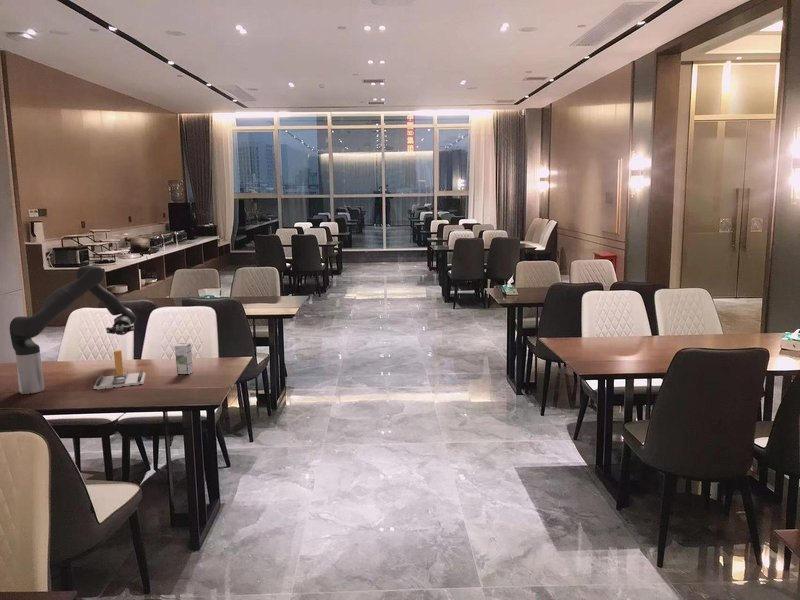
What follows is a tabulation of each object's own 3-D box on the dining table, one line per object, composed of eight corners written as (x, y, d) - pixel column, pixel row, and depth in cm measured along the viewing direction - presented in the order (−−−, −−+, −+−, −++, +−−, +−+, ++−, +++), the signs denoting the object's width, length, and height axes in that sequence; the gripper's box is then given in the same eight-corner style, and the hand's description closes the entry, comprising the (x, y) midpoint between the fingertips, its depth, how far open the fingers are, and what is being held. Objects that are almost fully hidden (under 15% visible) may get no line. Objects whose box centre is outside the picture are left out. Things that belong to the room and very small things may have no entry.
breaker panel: (93, 389, 278) (93, 384, 277) (99, 379, 295) (98, 374, 294) (142, 384, 284) (142, 378, 284) (145, 374, 301) (144, 369, 300)
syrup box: (193, 371, 303) (191, 342, 301) (188, 375, 297) (185, 345, 295) (182, 372, 304) (179, 342, 301) (176, 375, 298) (174, 345, 296)
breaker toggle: (113, 378, 287) (110, 352, 285) (114, 376, 290) (111, 350, 288) (126, 376, 288) (123, 351, 286) (126, 375, 291) (124, 349, 289)
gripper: (106, 319, 309) (102, 326, 293) (135, 317, 313) (132, 323, 297) (108, 334, 311) (104, 341, 294) (137, 332, 315) (134, 338, 298)
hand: (118, 332), depth 296 cm, fingers closed
